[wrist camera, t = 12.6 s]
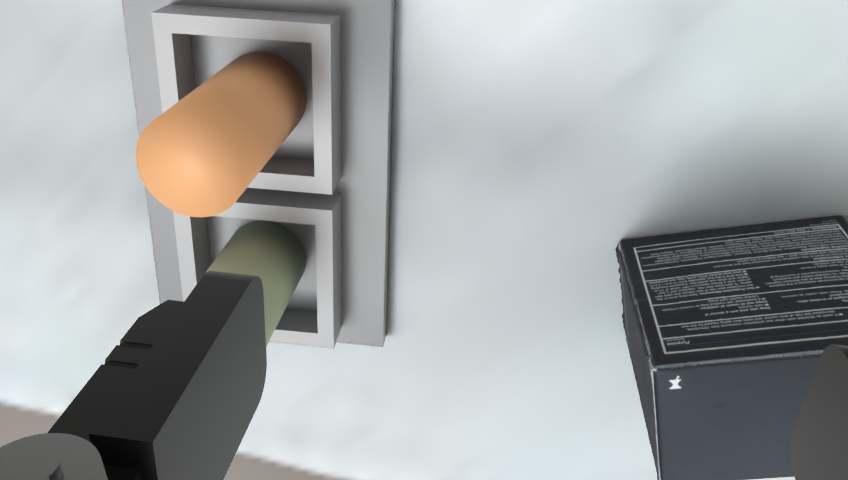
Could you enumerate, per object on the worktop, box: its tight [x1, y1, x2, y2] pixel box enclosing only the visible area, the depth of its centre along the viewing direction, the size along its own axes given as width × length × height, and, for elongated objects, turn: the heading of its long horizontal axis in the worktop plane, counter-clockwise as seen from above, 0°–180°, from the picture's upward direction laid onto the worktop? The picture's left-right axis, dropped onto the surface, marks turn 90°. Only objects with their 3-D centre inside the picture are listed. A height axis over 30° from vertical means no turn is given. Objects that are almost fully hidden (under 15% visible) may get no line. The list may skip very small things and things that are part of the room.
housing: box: [122, 0, 394, 349], centre depth 38 cm, size 18×12×3 cm, turn 177°
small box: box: [616, 216, 848, 480], centre depth 34 cm, size 11×6×10 cm, turn 100°
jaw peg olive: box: [186, 221, 306, 346], centre depth 36 cm, size 4×4×9 cm
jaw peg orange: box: [136, 52, 306, 217], centre depth 32 cm, size 4×4×9 cm
